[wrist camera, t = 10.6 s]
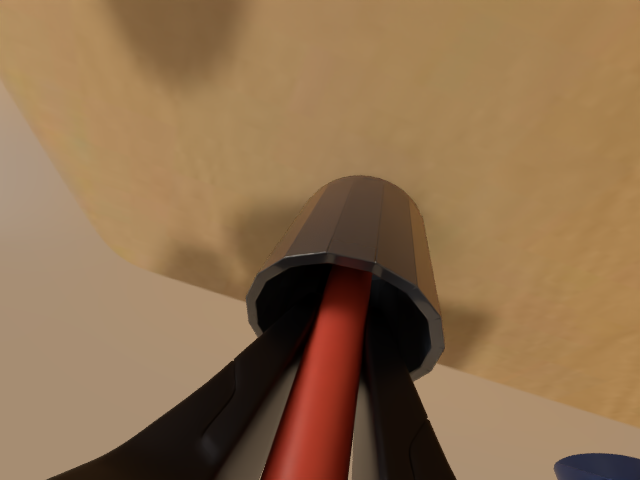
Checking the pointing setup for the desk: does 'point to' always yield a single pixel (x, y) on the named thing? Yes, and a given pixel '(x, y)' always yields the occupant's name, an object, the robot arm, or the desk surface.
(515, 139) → the desk surface
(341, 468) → the straw
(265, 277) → the tin
